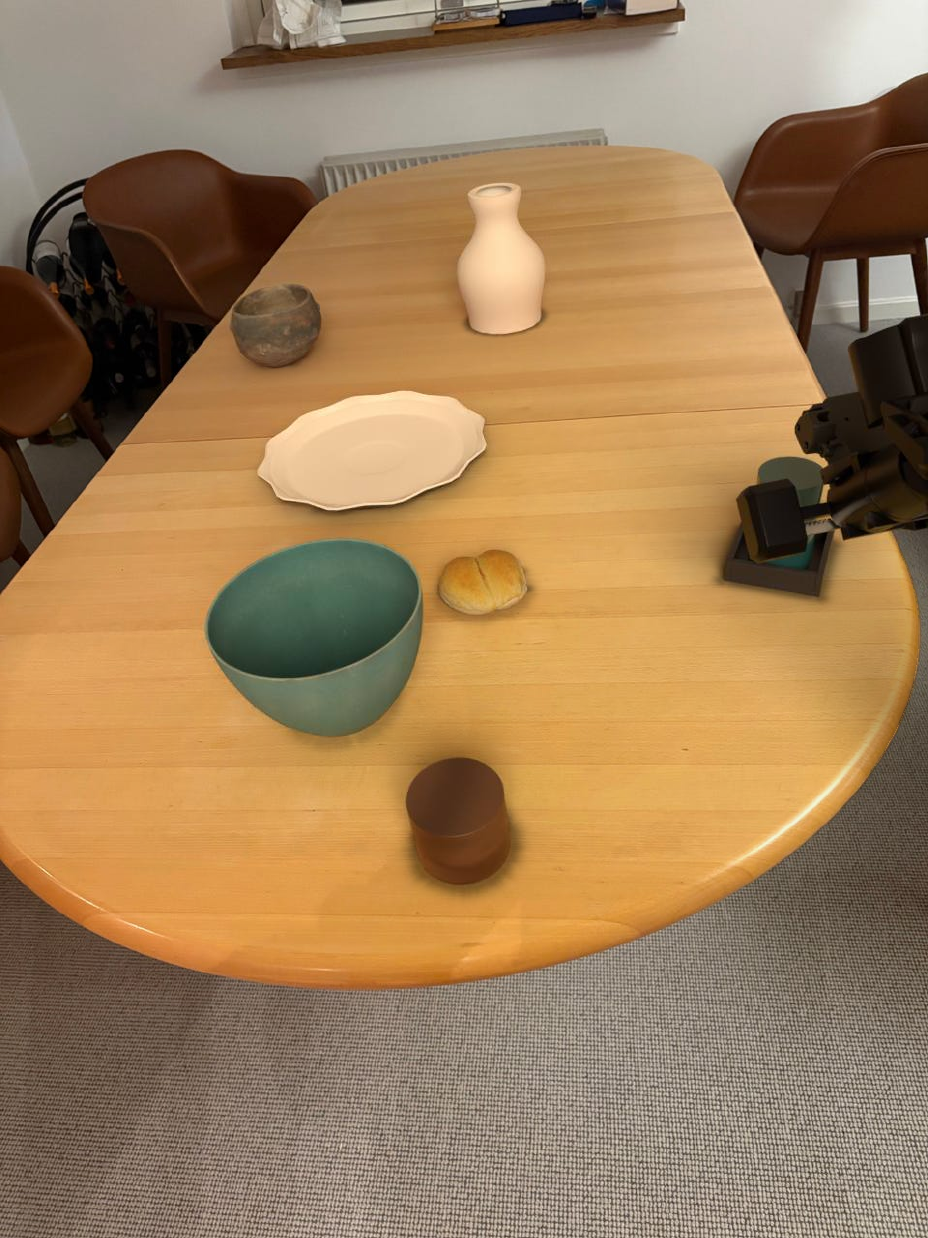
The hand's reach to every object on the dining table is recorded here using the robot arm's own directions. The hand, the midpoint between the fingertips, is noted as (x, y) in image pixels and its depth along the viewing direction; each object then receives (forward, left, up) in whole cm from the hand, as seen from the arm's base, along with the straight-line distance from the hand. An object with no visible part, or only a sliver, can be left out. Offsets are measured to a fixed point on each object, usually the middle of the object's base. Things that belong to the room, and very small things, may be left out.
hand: (812, 525), depth 81 cm
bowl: (+86, -37, -8) cm, 94 cm away
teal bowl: (+36, +28, -8) cm, 46 cm away
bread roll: (+30, +9, -8) cm, 32 cm away
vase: (+56, -58, -8) cm, 81 cm away
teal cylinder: (+3, -4, -7) cm, 9 cm away
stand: (+19, +38, -8) cm, 43 cm away
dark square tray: (+3, -4, -8) cm, 9 cm away
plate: (+55, -12, -8) cm, 57 cm away
